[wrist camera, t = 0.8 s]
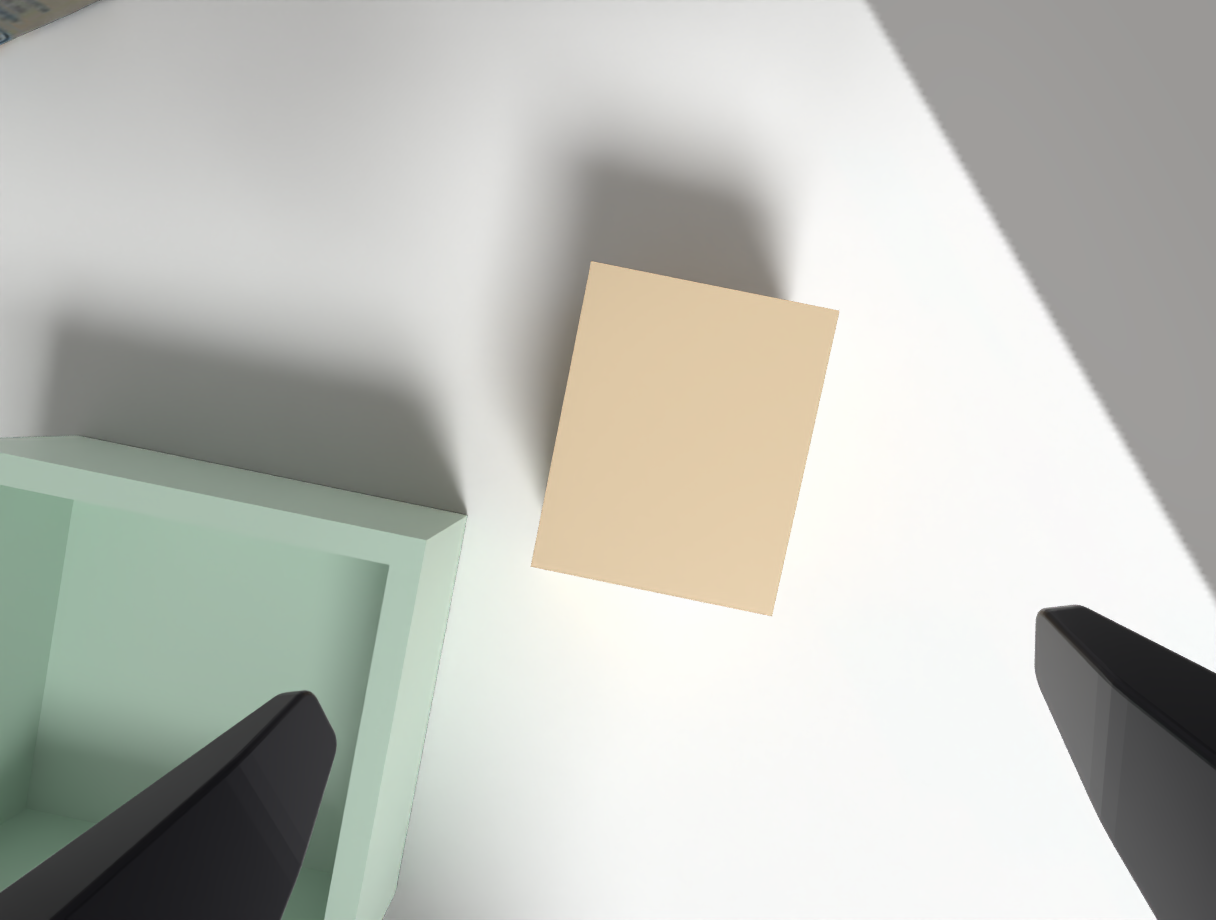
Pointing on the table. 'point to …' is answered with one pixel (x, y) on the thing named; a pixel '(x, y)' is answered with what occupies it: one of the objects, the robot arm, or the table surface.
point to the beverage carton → (33, 15)
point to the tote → (211, 644)
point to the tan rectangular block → (683, 437)
